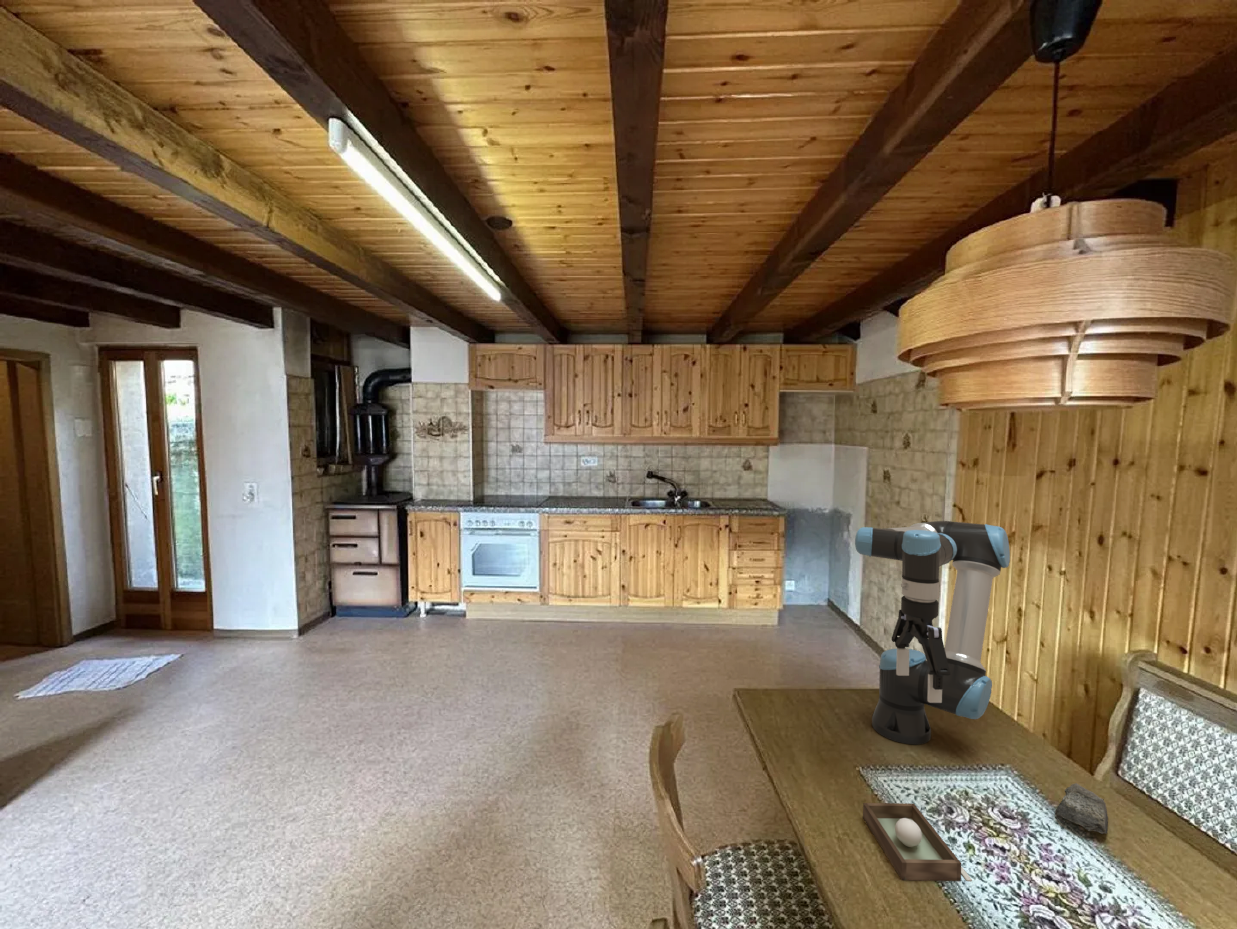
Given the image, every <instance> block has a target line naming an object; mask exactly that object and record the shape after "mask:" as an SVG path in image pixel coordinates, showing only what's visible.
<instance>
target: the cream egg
mask: <svg viewBox="0 0 1237 929" xmlns="http://www.w3.org/2000/svg"><path fill="white" fill-rule="evenodd" d="M895 834H896V836H897V837H898V839H899V840H900V841H901V842H902V843H903V844H904V845H905V846H907V847H914V846H917V845H919V844H920V842H921V840H922V832H921V829H920V828H919V826H918V825H917V824H916V823H915V822H914V821H912V820H910V819H907V818H902V819H900V820H898V822H897V823H896V825H895Z"/></svg>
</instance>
